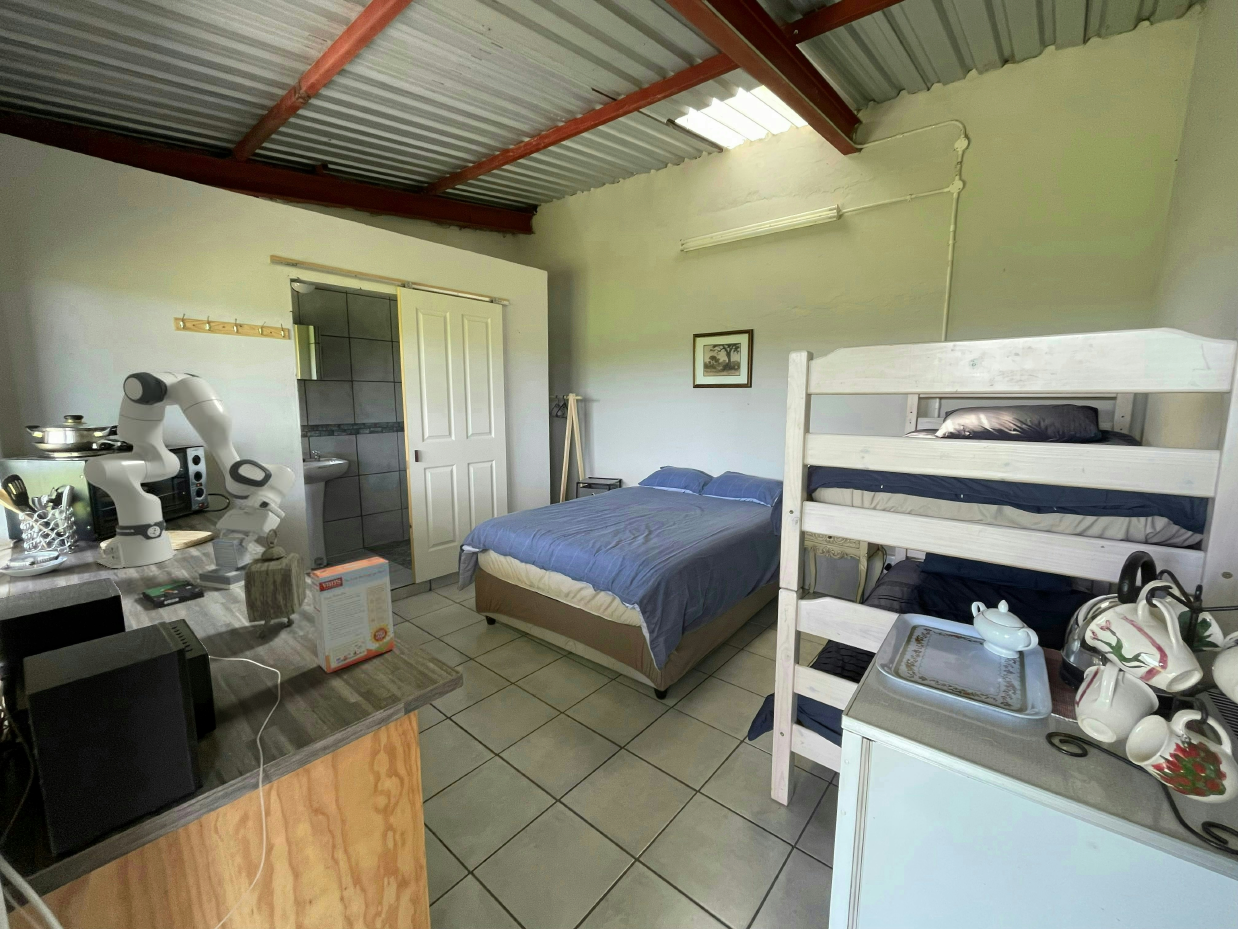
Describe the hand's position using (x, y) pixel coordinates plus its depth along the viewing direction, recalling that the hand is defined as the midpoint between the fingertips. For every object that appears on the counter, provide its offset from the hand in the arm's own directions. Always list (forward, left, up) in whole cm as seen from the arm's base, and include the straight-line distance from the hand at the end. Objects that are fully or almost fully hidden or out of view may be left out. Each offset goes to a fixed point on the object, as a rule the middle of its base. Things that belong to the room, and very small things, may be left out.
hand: (231, 545), depth 152 cm
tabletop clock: (+45, -21, -12) cm, 51 cm away
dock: (0, +1, -11) cm, 11 cm away
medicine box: (0, 0, -7) cm, 7 cm away
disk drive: (-3, -15, -12) cm, 20 cm away
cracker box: (+75, -28, -12) cm, 81 cm away
